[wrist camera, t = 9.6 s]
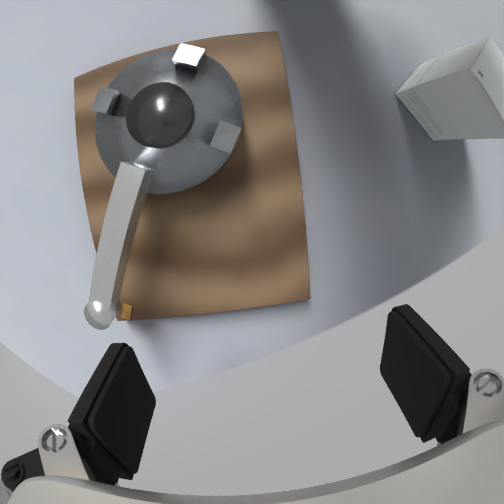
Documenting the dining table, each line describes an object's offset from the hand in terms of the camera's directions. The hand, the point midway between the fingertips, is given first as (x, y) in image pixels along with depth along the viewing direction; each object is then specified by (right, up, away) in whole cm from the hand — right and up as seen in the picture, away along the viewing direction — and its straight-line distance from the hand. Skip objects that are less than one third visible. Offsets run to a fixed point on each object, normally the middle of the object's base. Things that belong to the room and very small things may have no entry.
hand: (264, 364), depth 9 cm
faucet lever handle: (-9, +10, +15) cm, 20 cm away
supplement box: (+20, +22, +15) cm, 33 cm away
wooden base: (-7, +11, +17) cm, 21 cm away
